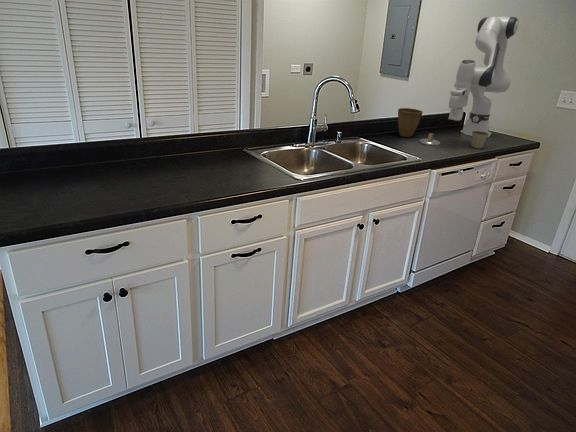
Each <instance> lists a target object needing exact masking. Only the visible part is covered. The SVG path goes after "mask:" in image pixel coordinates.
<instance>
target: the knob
mask: <svg viewBox="0 0 576 432" xmlns="http://www.w3.org/2000/svg"><path fill="white" fill-rule="evenodd" d="M463 115H464V108H457V110H456V116H452V109H450V111H449V115H448V120H453V121H456V122H457V121H462V118H463Z"/></svg>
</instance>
